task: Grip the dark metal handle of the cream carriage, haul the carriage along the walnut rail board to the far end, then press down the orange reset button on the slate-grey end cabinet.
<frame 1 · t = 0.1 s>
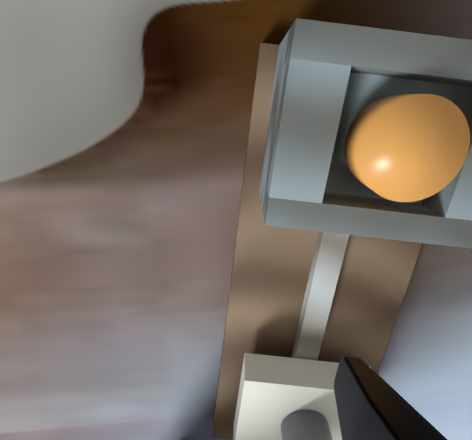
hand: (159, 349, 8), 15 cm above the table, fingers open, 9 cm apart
rail board: (312, 283, 24), on the table
reset button: (401, 147, 13), point 8 cm above the table, slide at 0.0 cm
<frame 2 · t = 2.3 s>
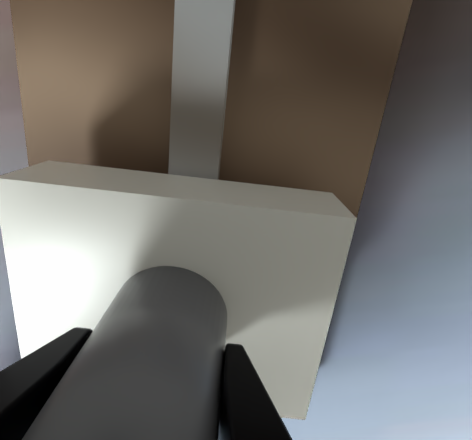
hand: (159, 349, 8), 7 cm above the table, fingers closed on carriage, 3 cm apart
carriage: (159, 348, 8), point 6 cm above the table, slide at 0.0 cm, touching gripper
rail board: (211, 32, 11), on the table
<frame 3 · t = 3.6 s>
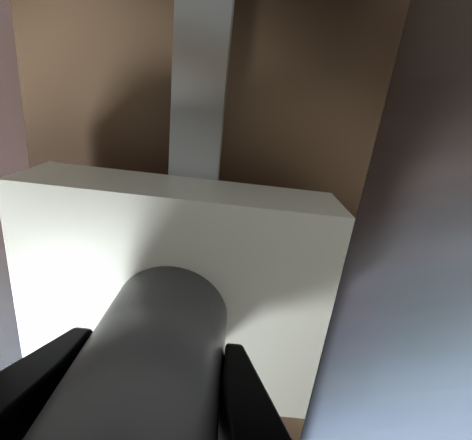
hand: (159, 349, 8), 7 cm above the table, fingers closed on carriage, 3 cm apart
carriage: (160, 348, 8), point 6 cm above the table, slide at 5.6 cm, touching gripper
rail board: (200, 188, 13), on the table
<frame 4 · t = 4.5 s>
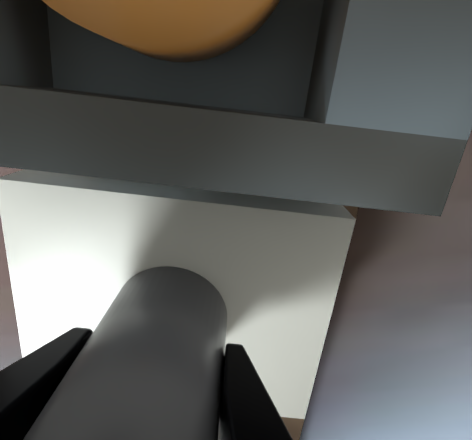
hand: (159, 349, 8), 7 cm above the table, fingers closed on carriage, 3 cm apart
carriage: (160, 348, 8), point 7 cm above the table, slide at 10.5 cm, touching gripper
rail board: (192, 290, 15), on the table
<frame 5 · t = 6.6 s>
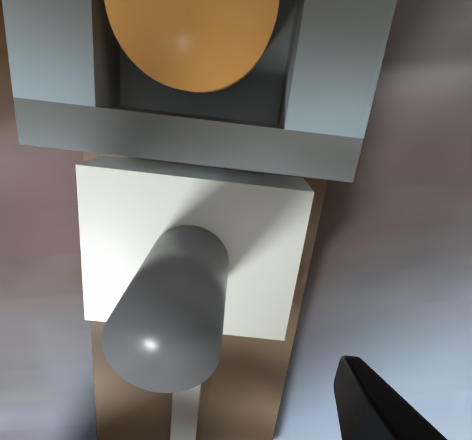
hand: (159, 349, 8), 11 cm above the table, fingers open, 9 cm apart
carriage: (184, 277, 12), point 7 cm above the table, slide at 10.5 cm
rail board: (200, 258, 19), on the table
reset button: (197, 8, 8), point 7 cm above the table, slide at 0.0 cm
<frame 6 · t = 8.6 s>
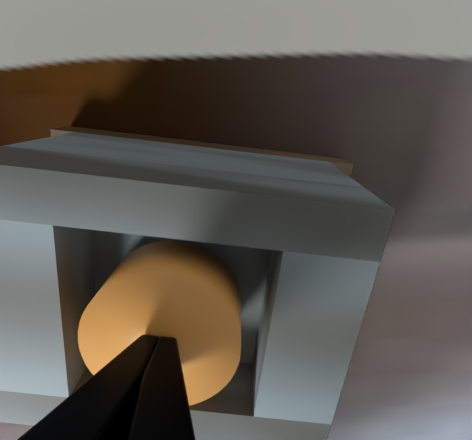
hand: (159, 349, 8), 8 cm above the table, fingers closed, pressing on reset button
rail board: (187, 396, 19), on the table
reset button: (168, 321, 9), point 7 cm above the table, slide at 0.4 cm, touching gripper
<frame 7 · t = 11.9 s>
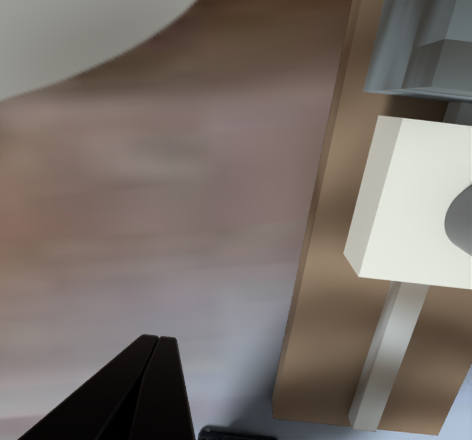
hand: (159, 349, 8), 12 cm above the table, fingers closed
rail board: (407, 226, 19), on the table
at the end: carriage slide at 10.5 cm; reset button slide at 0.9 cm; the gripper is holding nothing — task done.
